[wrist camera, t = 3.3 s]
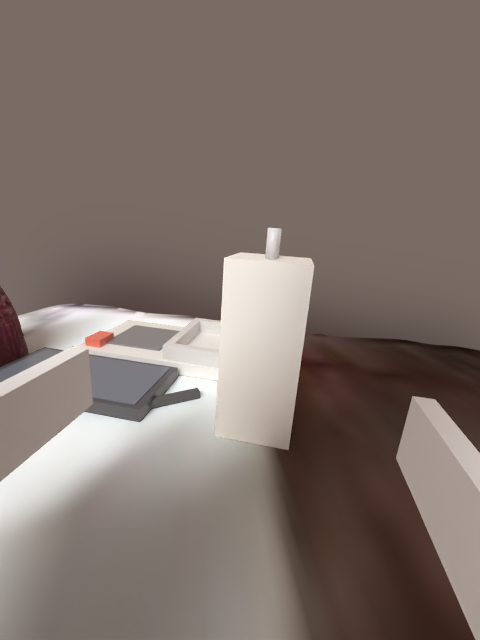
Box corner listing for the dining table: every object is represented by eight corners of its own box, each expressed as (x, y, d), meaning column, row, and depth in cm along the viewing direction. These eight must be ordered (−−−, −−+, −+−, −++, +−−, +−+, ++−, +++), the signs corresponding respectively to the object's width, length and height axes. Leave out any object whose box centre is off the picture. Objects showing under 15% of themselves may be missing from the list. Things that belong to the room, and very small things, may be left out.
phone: (45, 356, 30) (44, 346, 30) (177, 377, 28) (177, 367, 28) (-26, 391, 24) (-28, 378, 23) (140, 422, 21) (139, 408, 21)
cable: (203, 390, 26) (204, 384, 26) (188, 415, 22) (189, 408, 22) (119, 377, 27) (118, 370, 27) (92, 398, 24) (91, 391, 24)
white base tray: (281, 349, 36) (283, 328, 36) (274, 389, 27) (277, 362, 26) (129, 328, 40) (128, 309, 39) (75, 358, 30) (73, 333, 29)
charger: (290, 407, 25) (314, 231, 21) (288, 450, 20) (319, 231, 16) (231, 397, 25) (242, 226, 21) (214, 436, 20) (225, 224, 16)
